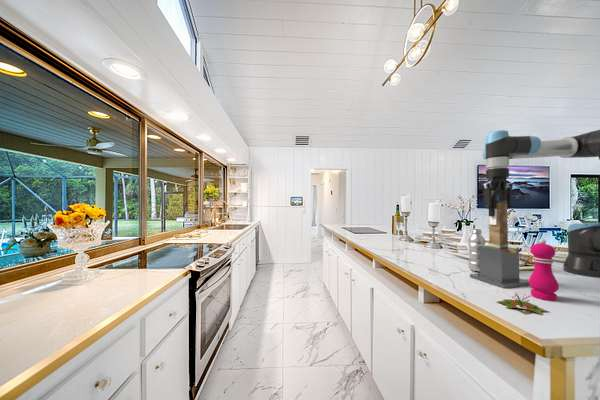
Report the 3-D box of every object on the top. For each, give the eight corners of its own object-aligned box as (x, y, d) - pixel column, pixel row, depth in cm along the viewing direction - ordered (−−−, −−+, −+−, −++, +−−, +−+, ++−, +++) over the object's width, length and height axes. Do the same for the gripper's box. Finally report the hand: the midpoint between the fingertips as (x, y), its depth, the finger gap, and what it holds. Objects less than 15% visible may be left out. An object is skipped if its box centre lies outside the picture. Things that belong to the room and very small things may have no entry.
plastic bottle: (468, 268, 118) (467, 228, 119) (485, 270, 114) (484, 229, 115) (468, 271, 113) (467, 229, 114) (486, 274, 109) (485, 230, 110)
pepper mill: (565, 302, 78) (564, 240, 78) (539, 300, 79) (538, 240, 79) (547, 294, 85) (546, 237, 85) (523, 292, 86) (522, 237, 86)
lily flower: (517, 299, 81) (516, 286, 81) (560, 316, 69) (560, 300, 69) (486, 302, 79) (486, 288, 79) (526, 319, 67) (526, 303, 67)
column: (497, 258, 102) (496, 200, 102) (508, 261, 98) (507, 200, 98) (489, 259, 101) (488, 200, 101) (500, 261, 97) (499, 200, 97)
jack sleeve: (495, 275, 107) (494, 244, 108) (531, 285, 94) (530, 249, 94) (469, 277, 104) (469, 245, 105) (503, 288, 91) (503, 251, 91)
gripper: (503, 170, 106) (504, 223, 105) (472, 169, 102) (472, 224, 101) (523, 168, 98) (524, 224, 98) (489, 166, 94) (490, 225, 94)
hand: (498, 224), depth 100 cm, fingers closed on column, 4 cm apart
